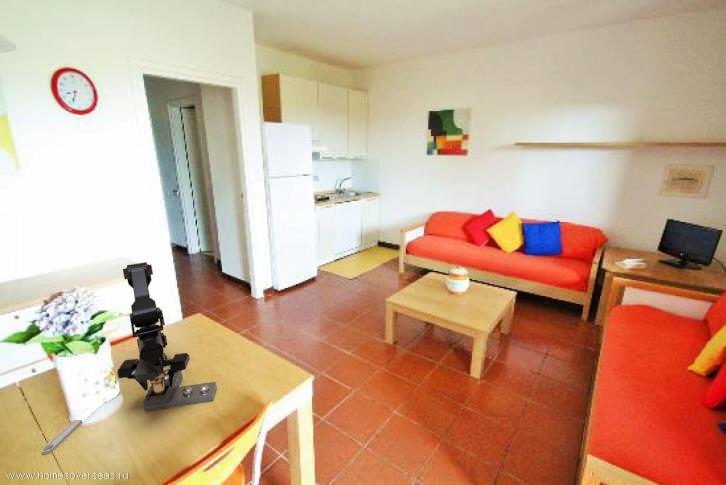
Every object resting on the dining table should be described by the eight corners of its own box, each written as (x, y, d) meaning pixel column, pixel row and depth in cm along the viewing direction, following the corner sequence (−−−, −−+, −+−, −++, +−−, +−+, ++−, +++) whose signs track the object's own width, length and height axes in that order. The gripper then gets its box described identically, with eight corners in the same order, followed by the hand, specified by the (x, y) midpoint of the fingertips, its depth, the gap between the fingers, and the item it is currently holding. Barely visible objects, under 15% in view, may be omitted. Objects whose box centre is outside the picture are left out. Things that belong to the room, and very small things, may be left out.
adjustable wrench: (49, 456, 91) (47, 451, 91) (28, 454, 92) (26, 449, 92) (123, 391, 115) (122, 387, 115) (106, 390, 116) (105, 385, 115)
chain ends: (159, 381, 120) (157, 369, 119) (220, 373, 124) (218, 361, 123) (143, 412, 106) (140, 399, 105) (212, 401, 110) (210, 389, 109)
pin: (156, 398, 112) (152, 374, 109) (170, 396, 113) (166, 372, 110) (152, 406, 108) (147, 382, 106) (166, 404, 109) (161, 380, 107)
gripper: (103, 364, 95) (114, 411, 100) (176, 355, 99) (184, 401, 104) (121, 343, 106) (130, 386, 110) (186, 335, 110) (193, 377, 114)
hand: (159, 388), depth 109 cm, fingers open, 7 cm apart
